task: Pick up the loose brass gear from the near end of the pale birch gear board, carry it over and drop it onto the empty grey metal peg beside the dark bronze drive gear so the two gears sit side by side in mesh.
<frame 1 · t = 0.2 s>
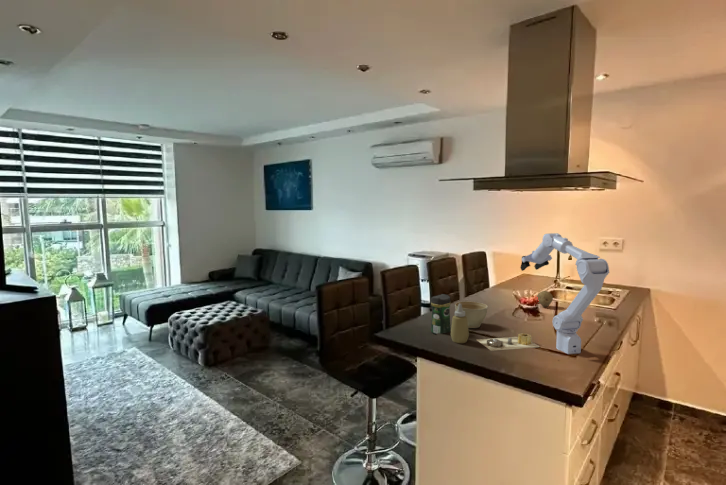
hand: (528, 268, 195), 31 cm above the counter, tool tilted 45°, fingers open, 7 cm apart
drive gear: (494, 344, 177), resting on gear board
brass gear: (524, 342, 179), point 1 cm above the counter, touching gear board
planter bowl: (470, 326, 208), on the counter
gear board: (507, 345, 179), on the counter
natural sponge: (544, 307, 243), on the counter
coffee jar: (440, 332, 198), on the counter
squeeze bottle: (459, 343, 182), on the counter
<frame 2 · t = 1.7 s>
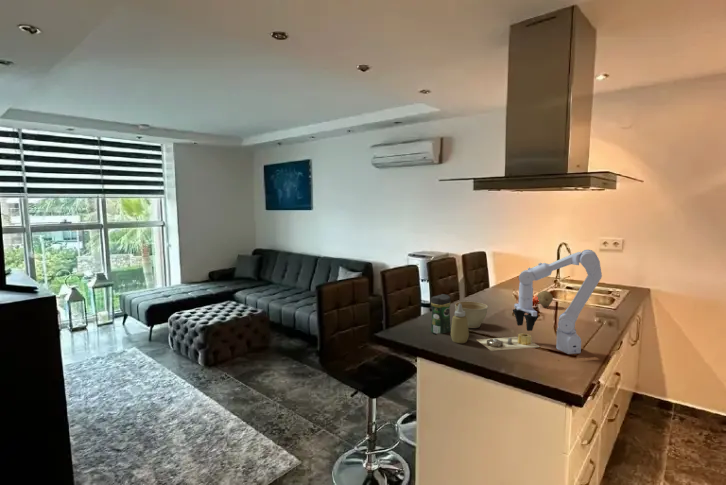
hand: (524, 327, 178), 8 cm above the counter, tool pointing down, fingers open, 7 cm apart
nothing on the counter moved.
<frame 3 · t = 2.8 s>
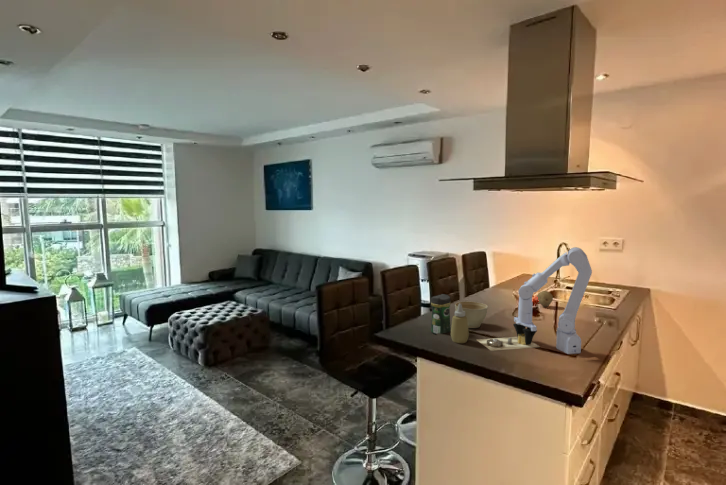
hand: (524, 341, 179), 1 cm above the counter, tool pointing down, fingers closed on brass gear, 5 cm apart
brass gear: (524, 342, 179), point 1 cm above the counter, touching gear board, gripper
everything else where it was.
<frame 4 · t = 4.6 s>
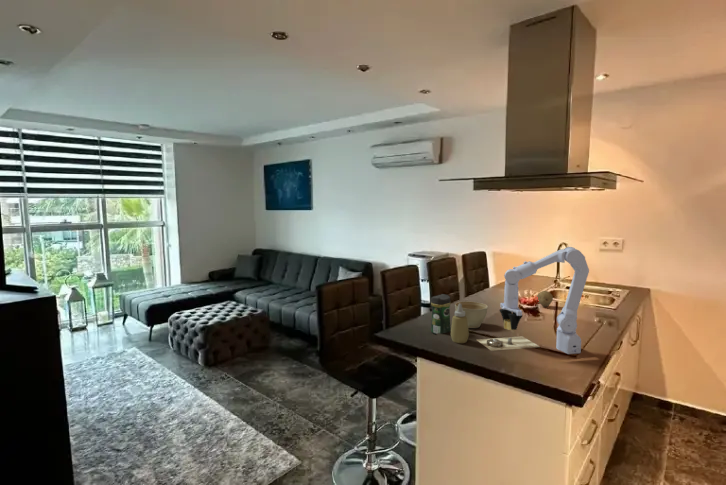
hand: (510, 327, 177), 8 cm above the counter, tool pointing down, fingers closed on brass gear, 5 cm apart
brass gear: (510, 328, 177), point 8 cm above the counter, touching gripper
everything else where it was.
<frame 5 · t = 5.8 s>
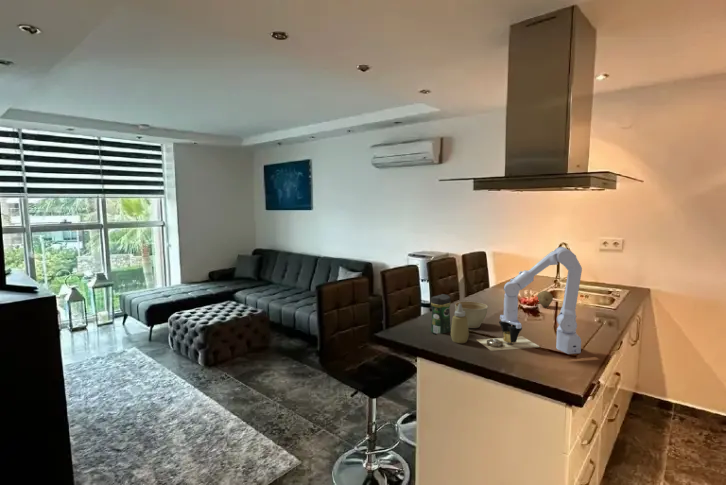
hand: (509, 339, 178), 3 cm above the counter, tool pointing down, fingers closed on brass gear, 5 cm apart
brass gear: (509, 340, 178), point 2 cm above the counter, touching gripper
everything else where it was.
when the fingers open (3 cm above the counter, at t = 6.6 s): brass gear drops 1 cm, resting on gear board.
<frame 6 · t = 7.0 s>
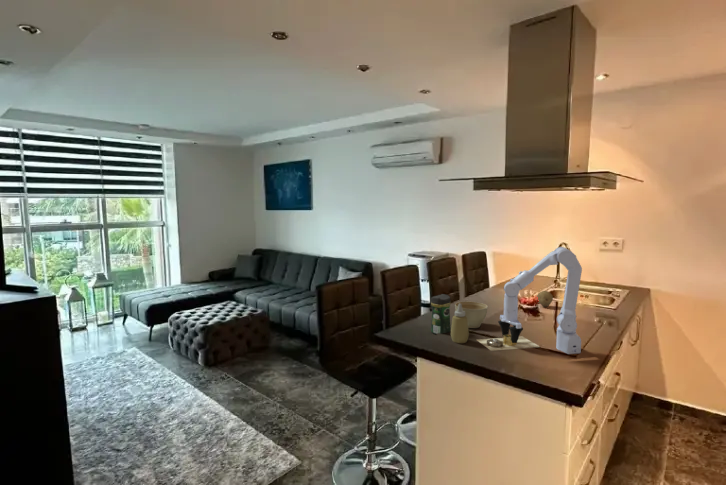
hand: (509, 339, 178), 3 cm above the counter, tool pointing down, fingers open, 7 cm apart
brass gear: (509, 343, 178), point 1 cm above the counter, touching gear board
everything else where it was.
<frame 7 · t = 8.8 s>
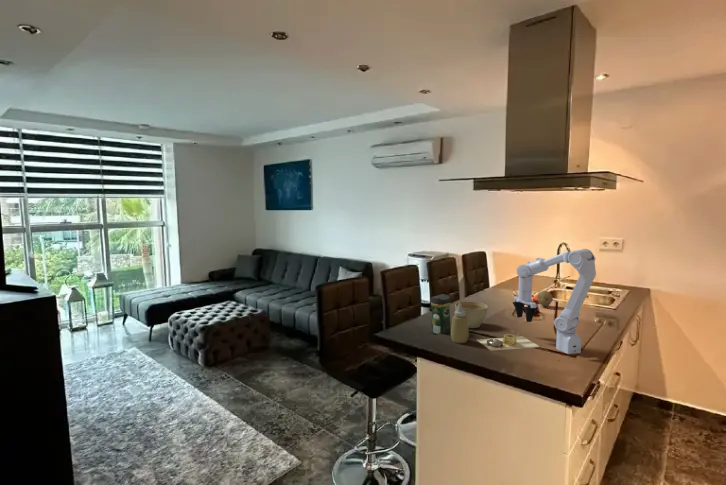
hand: (524, 319, 186), 9 cm above the counter, tool pointing down, fingers open, 7 cm apart
nothing on the counter moved.
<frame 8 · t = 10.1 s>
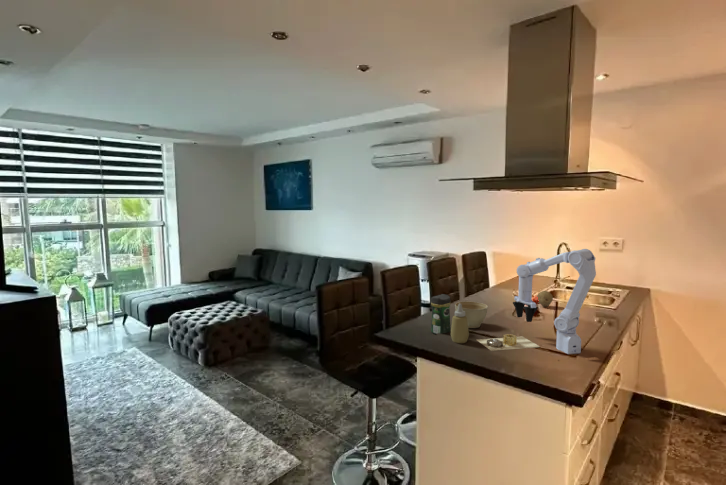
hand: (524, 319, 186), 9 cm above the counter, tool pointing down, fingers open, 7 cm apart
nothing on the counter moved.
at the end: brass gear 0.0 cm from the target spot, point 1.1 cm above the counter; brass gear tilted 0°; the gripper is holding nothing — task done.
